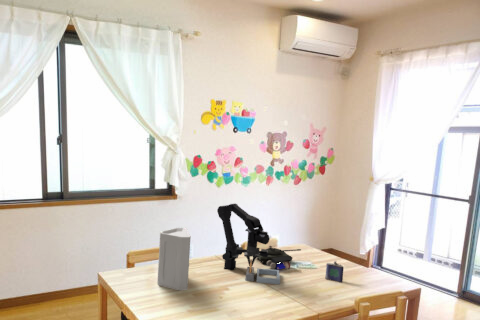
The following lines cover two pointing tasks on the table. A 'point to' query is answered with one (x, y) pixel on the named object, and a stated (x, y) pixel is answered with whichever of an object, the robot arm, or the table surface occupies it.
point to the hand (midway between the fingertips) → (250, 266)
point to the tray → (269, 272)
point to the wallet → (334, 272)
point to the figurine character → (285, 263)
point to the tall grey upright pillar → (174, 258)
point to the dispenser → (250, 274)
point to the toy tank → (274, 255)
